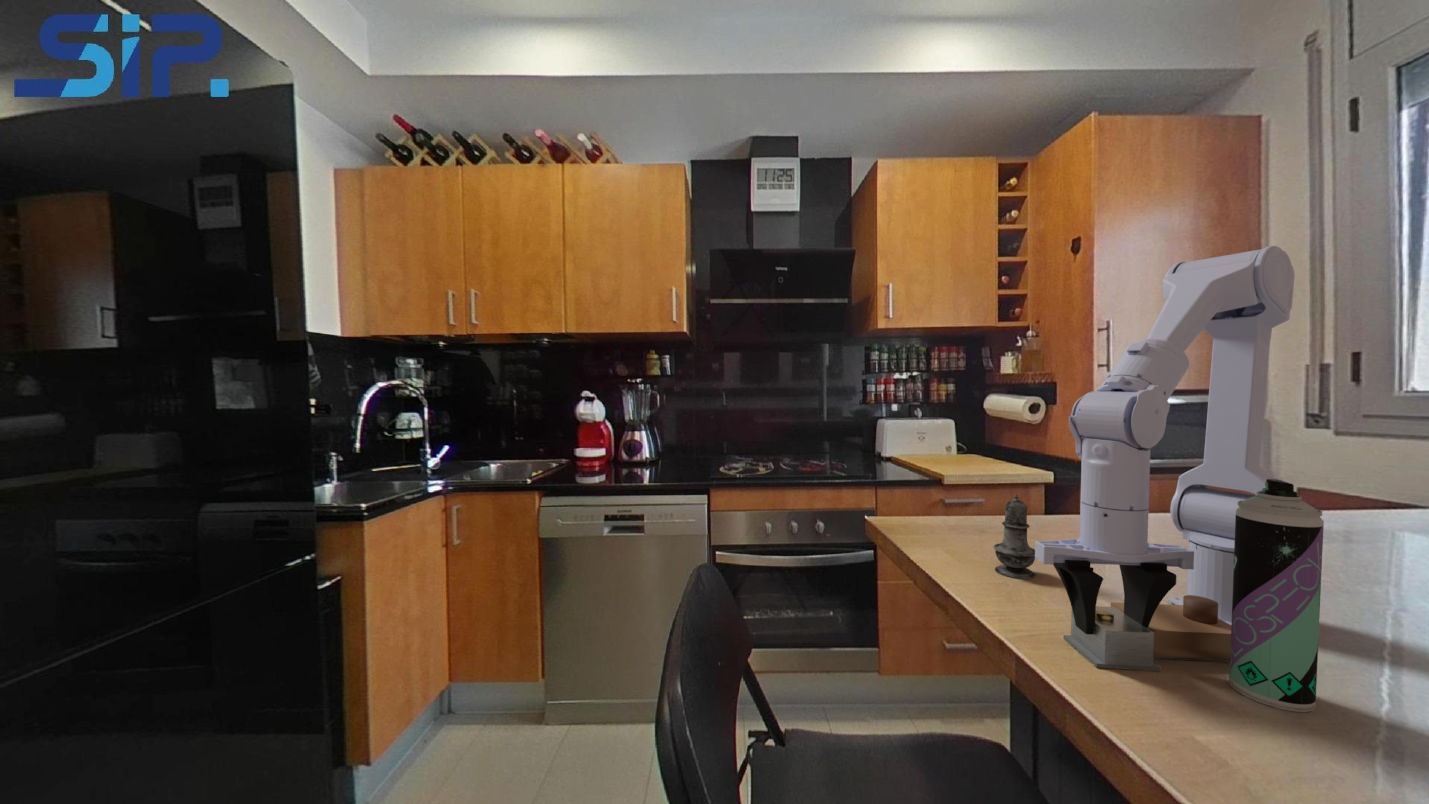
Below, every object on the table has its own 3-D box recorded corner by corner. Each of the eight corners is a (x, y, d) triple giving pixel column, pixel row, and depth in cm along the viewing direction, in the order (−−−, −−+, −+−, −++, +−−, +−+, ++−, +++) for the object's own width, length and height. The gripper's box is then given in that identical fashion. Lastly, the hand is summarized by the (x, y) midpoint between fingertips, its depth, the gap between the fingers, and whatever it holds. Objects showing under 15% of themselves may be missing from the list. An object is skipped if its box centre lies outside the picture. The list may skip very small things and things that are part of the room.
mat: (1120, 641, 58) (1120, 637, 58) (1160, 670, 52) (1160, 667, 52) (1063, 638, 59) (1063, 635, 59) (1096, 667, 53) (1096, 663, 53)
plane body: (1193, 630, 61) (1194, 588, 60) (1247, 663, 54) (1249, 615, 54) (1110, 627, 62) (1111, 585, 61) (1153, 658, 55) (1154, 611, 55)
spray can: (1213, 678, 51) (1220, 475, 50) (1263, 675, 51) (1271, 474, 51) (1278, 714, 46) (1287, 487, 45) (1334, 710, 46) (1344, 485, 45)
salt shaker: (1044, 581, 76) (1046, 499, 75) (1000, 578, 77) (1001, 497, 77) (1028, 567, 82) (1030, 491, 81) (987, 564, 83) (989, 489, 82)
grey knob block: (1114, 637, 58) (1115, 602, 58) (1152, 667, 52) (1154, 628, 52) (1070, 635, 59) (1071, 600, 59) (1104, 664, 53) (1105, 625, 53)
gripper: (1160, 497, 58) (1156, 617, 59) (1022, 494, 60) (1019, 611, 60) (1213, 513, 51) (1208, 649, 52) (1056, 509, 53) (1052, 641, 53)
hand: (1109, 631), depth 56 cm, fingers closed on grey knob block, 4 cm apart
